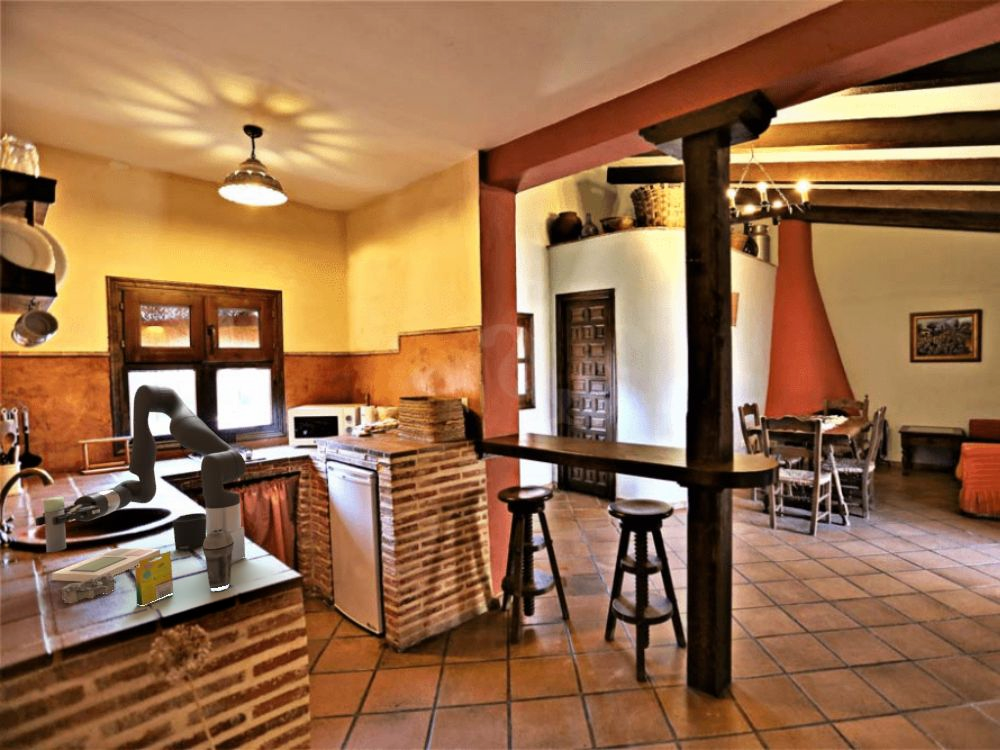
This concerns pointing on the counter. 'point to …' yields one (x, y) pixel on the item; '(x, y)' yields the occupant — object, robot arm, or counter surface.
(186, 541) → the pen holder
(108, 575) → the egg carton
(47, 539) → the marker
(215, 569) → the beverage cup
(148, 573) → the crayon box
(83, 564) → the drawing board
